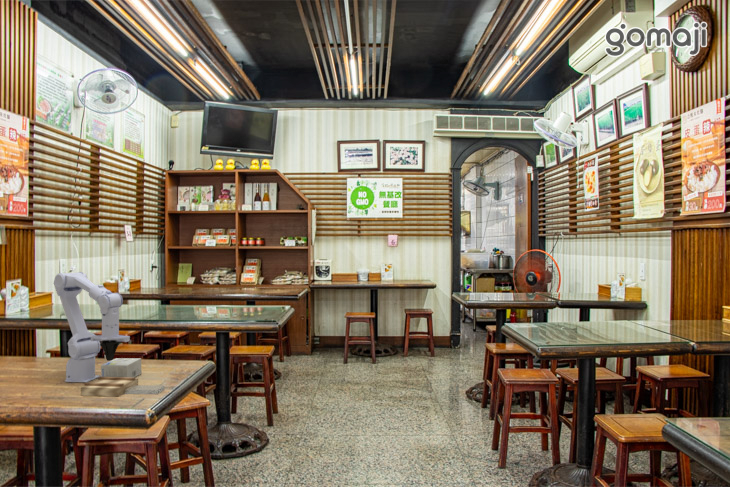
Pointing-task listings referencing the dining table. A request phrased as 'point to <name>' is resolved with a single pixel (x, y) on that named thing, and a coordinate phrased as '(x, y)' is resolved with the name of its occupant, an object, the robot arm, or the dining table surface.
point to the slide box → (108, 386)
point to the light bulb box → (121, 367)
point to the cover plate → (144, 389)
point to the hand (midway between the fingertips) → (110, 360)
